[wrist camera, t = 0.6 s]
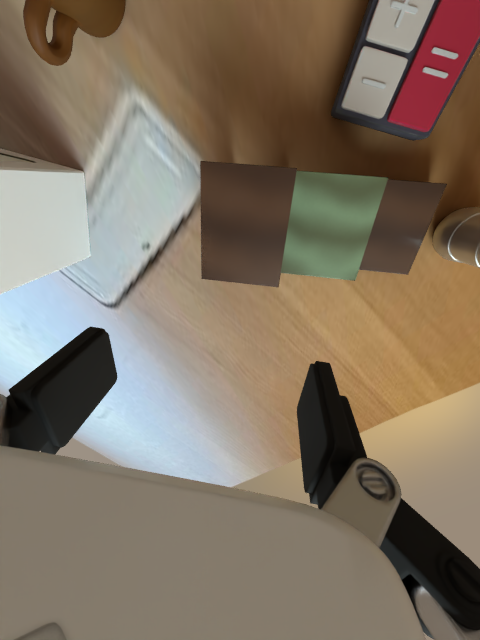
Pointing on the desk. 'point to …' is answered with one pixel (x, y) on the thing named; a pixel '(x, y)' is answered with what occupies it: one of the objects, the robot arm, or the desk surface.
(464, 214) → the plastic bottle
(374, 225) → the shelf
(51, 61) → the mug
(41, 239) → the gable box
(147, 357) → the desk surface
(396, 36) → the calculator
